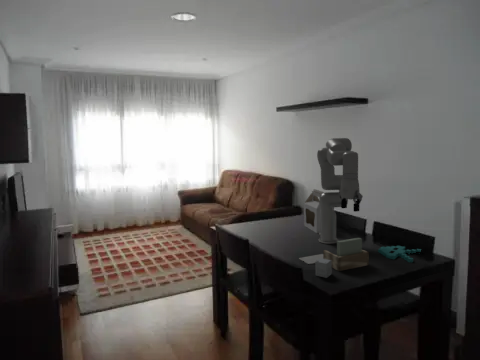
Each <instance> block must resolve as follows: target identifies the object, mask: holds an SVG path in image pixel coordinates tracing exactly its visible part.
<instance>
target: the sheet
mask: <svg viewBox="0 0 480 360" xmlns="http://www.w3.org/2000/svg"><path fill="white" fill-rule="evenodd" d="M362 250H363V238H361V237H354V238H350V239H348V238H347V239H342V240H339V241H337V243H336V255H337V256H339V257H340V256H346V255H351V254H357V253H362Z"/></svg>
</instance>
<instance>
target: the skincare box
mask: <svg viewBox="0 0 480 360" xmlns="http://www.w3.org/2000/svg"><path fill="white" fill-rule="evenodd" d="M314 264H315V266H314V267H315V276H316V277H322V278H324V279H327V278H329V277H330V276H331V275H332V274H333V271H332V270H333V268H332V264H331V260H328V259H323V258H320V259H318V260H317V261H315V263H314Z"/></svg>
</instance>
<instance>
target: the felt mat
mask: <svg viewBox="0 0 480 360" xmlns="http://www.w3.org/2000/svg"><path fill="white" fill-rule="evenodd" d="M320 258H323V253H320V254H314V255H309V256H303V257H298V259H299V260H300V261H302V262H303V261H304V263H305V264H307V265H308V264H309V265H313V264H315V261H317V260H318V259H320Z"/></svg>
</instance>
